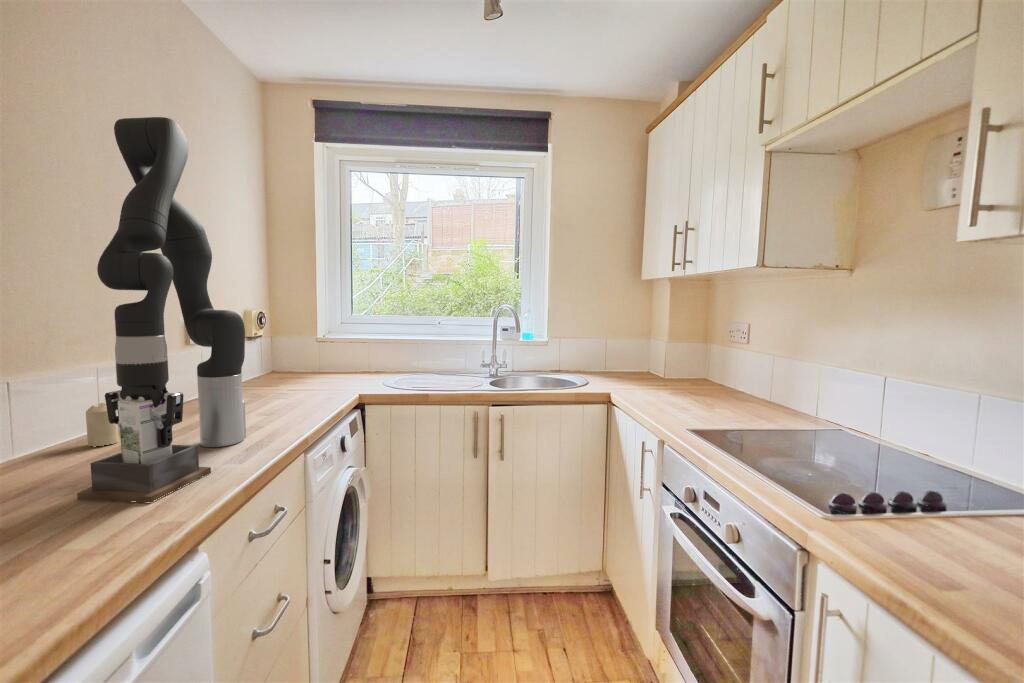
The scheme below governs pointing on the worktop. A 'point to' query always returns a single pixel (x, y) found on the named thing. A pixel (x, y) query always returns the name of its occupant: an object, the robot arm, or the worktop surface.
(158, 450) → the syrup box
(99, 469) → the holder
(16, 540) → the worktop surface
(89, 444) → the candle
